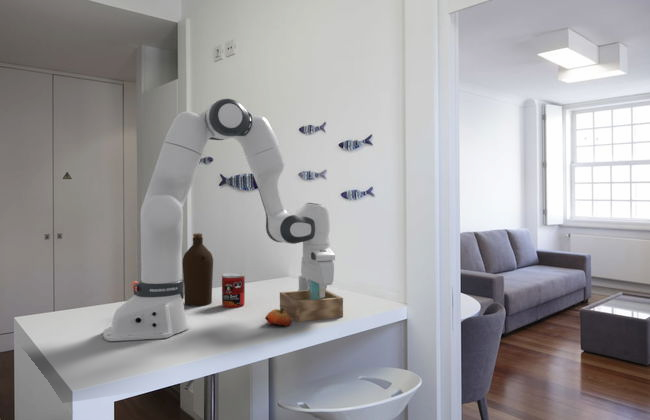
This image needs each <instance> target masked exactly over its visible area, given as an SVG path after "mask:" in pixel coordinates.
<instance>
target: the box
mask: <svg viewBox="0 0 650 420" xmlns="http://www.w3.org/2000/svg"><path fill="white" fill-rule="evenodd" d="M281 308H283V309H284V310H283V311H285V312H286V313H288V314H289V316H290V318H291V321H294V322H295V323H297V322H307V321H316V320H326V319H334V318H335V319H336V318H342V317H344V297H342V296H341V295H337V294H335V293H333V292H331V291H329V290H327V289H326V291H325V297H324V298H322V299H317V300H311V292H309V291H308V290H303V291H298V290H295V291H280V292H279V310H280V309H281Z"/></svg>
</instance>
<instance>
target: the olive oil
mask: <svg viewBox="0 0 650 420" xmlns="http://www.w3.org/2000/svg"><path fill="white" fill-rule="evenodd" d="M192 236H193V237H192V245H191V246H190V247H189V248H188V250H187V251H186V252H185V253H184V254H183V256H182V279H183V280H184V298H183V300H184V305H185V306H188V307H202V306H203V307H204V306H207V305H211V304H212V303H213V302H212V301H213V277H214V276H213V274H214V273H213V272H214V257H213V255H212V252H210V250H208V248H207V247H206V246H205V245H204V242H203V241H204V240H203V239H204V238H203V233H201V232H200V233H193V235H192Z"/></svg>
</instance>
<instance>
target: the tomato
mask: <svg viewBox="0 0 650 420" xmlns="http://www.w3.org/2000/svg"><path fill="white" fill-rule="evenodd" d="M283 310H284V309H283V308H281V309H280V308H279V309H273V310H271V311H269V312H268V313H267V315H265V318H264V319H265V320H266V321H267V324H268V325H269V324H275V325H281V326H286V327H290V326H291V324H292V319H291V318H290V316H289V314H288V313H286V312H285V311H283Z"/></svg>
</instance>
